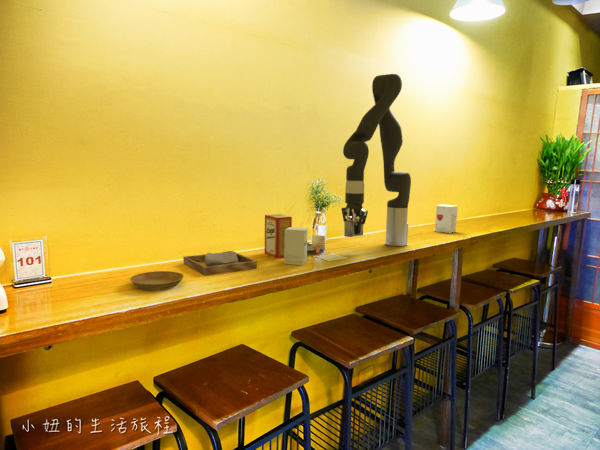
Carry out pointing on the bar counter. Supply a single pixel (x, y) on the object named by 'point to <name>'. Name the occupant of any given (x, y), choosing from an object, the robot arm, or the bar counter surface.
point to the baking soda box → (276, 234)
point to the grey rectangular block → (351, 229)
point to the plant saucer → (156, 280)
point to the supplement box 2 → (446, 218)
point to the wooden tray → (243, 265)
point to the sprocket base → (316, 253)
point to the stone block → (220, 258)
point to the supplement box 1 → (295, 246)
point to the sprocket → (316, 244)
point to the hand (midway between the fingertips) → (353, 233)
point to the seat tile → (330, 257)
